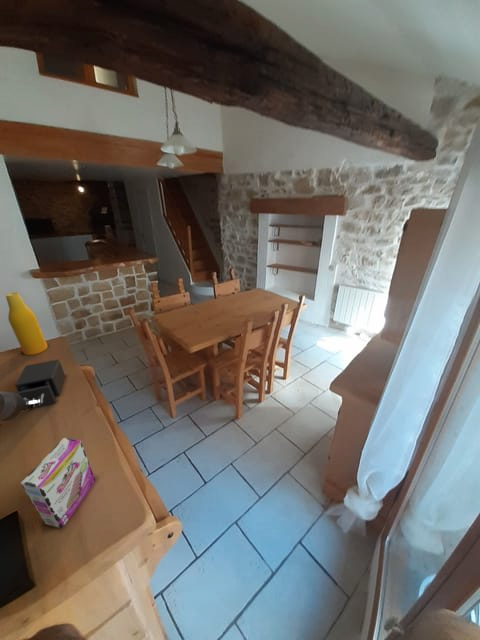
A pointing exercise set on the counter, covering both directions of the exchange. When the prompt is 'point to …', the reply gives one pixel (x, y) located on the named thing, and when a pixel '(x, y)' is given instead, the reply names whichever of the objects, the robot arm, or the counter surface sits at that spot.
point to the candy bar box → (59, 482)
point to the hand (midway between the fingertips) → (29, 406)
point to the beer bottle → (25, 325)
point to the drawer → (39, 392)
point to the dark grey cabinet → (43, 375)
